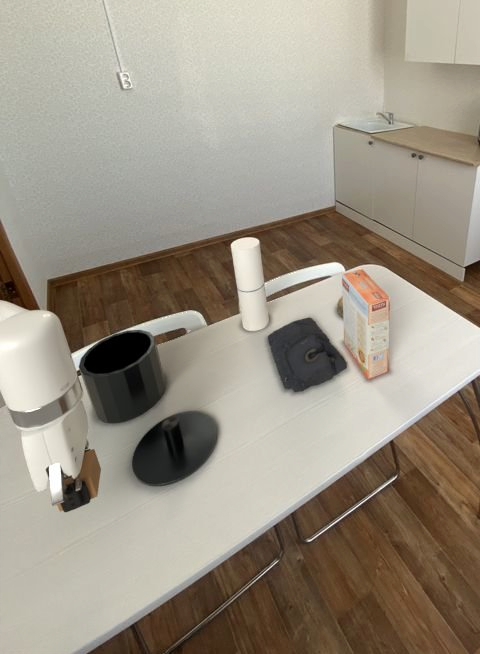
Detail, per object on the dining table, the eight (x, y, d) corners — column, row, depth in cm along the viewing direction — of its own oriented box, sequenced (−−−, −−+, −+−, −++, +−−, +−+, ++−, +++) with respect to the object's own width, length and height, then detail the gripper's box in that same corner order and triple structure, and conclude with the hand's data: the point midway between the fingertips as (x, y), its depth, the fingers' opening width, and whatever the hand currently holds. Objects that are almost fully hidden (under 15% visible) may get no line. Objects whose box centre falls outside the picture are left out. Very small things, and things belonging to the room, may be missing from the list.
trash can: (90, 434, 76) (73, 386, 72) (99, 385, 88) (85, 341, 83) (166, 407, 82) (154, 361, 77) (165, 365, 93) (154, 323, 89)
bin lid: (131, 505, 64) (121, 477, 62) (135, 433, 76) (127, 408, 74) (221, 465, 70) (216, 438, 68) (212, 404, 82) (207, 380, 80)
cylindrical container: (237, 329, 105) (225, 248, 96) (250, 313, 112) (240, 236, 103) (261, 333, 104) (250, 251, 95) (273, 316, 110) (264, 238, 101)
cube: (59, 512, 55) (50, 490, 54) (66, 482, 59) (58, 461, 57) (97, 496, 57) (89, 475, 56) (101, 468, 61) (94, 448, 59)
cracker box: (390, 372, 90) (391, 297, 83) (367, 381, 88) (366, 304, 80) (364, 335, 102) (363, 267, 95) (343, 342, 99) (340, 273, 92)
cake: (331, 317, 110) (329, 301, 109) (346, 299, 119) (345, 283, 117) (362, 324, 106) (360, 307, 104) (376, 304, 114) (374, 288, 113)
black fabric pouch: (318, 319, 108) (317, 305, 107) (350, 373, 90) (350, 357, 88) (264, 336, 102) (262, 322, 101) (287, 398, 84) (285, 381, 82)
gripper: (29, 364, 57) (62, 450, 64) (-13, 466, 43) (35, 564, 49) (89, 348, 60) (114, 432, 67) (68, 439, 46) (103, 534, 52)
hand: (80, 487), depth 58 cm, fingers closed on cube, 4 cm apart
